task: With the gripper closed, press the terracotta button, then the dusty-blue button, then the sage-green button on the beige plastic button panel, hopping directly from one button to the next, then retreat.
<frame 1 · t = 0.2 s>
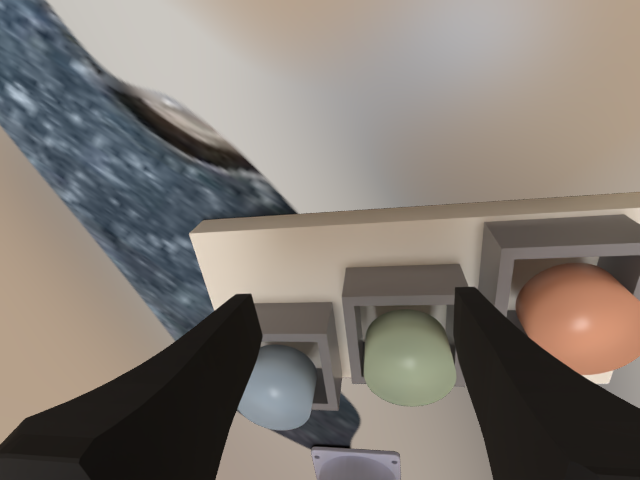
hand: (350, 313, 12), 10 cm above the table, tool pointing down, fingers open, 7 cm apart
panel: (400, 291, 23), on the table
button blue: (277, 387, 21), point 6 cm above the table, slide at 0.0 cm
button terracotta: (578, 318, 16), point 6 cm above the table, slide at 0.0 cm
button green: (407, 357, 18), point 6 cm above the table, slide at 0.0 cm
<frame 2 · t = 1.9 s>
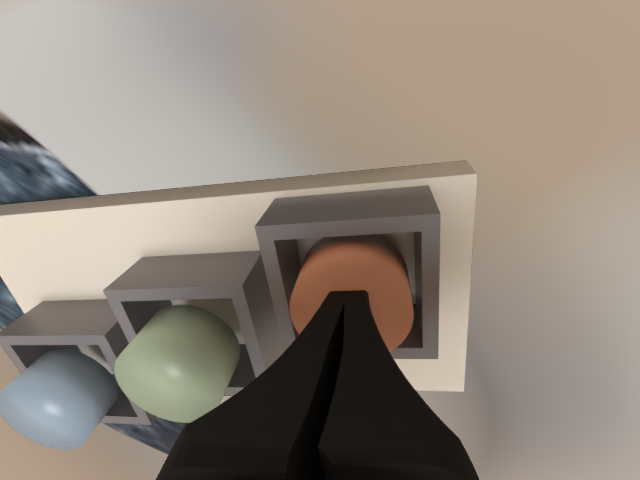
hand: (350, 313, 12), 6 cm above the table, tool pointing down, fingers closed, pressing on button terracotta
panel: (231, 285, 20), on the table
button blue: (61, 398, 18), point 6 cm above the table, slide at 0.0 cm
button terracotta: (352, 294, 13), point 5 cm above the table, slide at 1.1 cm, touching gripper
button green: (181, 363, 15), point 6 cm above the table, slide at 0.0 cm
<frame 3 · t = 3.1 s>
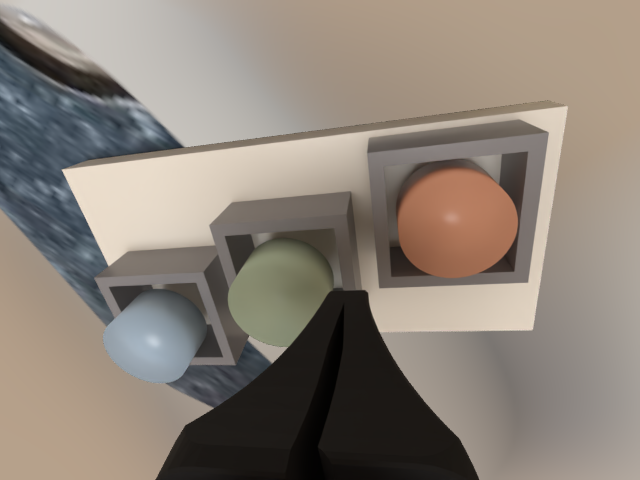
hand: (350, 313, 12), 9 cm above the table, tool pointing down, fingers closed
panel: (306, 234, 21), on the table
button blue: (157, 335, 19), point 6 cm above the table, slide at 0.0 cm
button terracotta: (450, 218, 15), point 5 cm above the table, slide at 1.3 cm
button green: (283, 292, 16), point 6 cm above the table, slide at 0.0 cm
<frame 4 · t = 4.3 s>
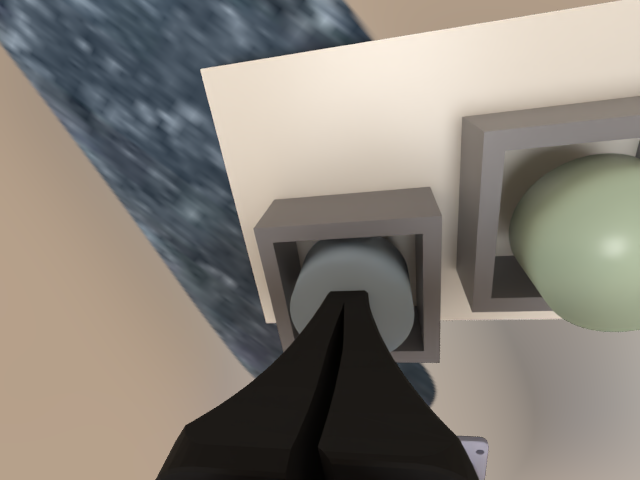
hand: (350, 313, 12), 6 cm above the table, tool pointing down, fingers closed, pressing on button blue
panel: (528, 178, 15), on the table
button blue: (352, 294, 13), point 5 cm above the table, slide at 1.3 cm, touching gripper
button green: (608, 242, 10), point 6 cm above the table, slide at 0.0 cm
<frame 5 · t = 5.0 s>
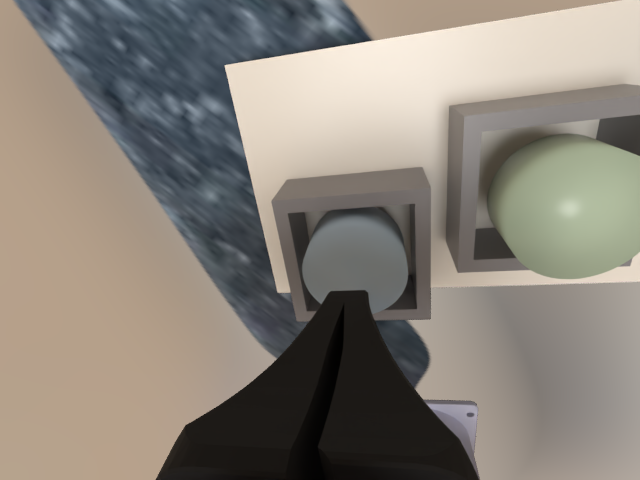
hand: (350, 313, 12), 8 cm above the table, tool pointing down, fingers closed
panel: (508, 160, 17), on the table
button blue: (355, 259, 16), point 5 cm above the table, slide at 1.3 cm
button green: (565, 206, 12), point 6 cm above the table, slide at 0.0 cm
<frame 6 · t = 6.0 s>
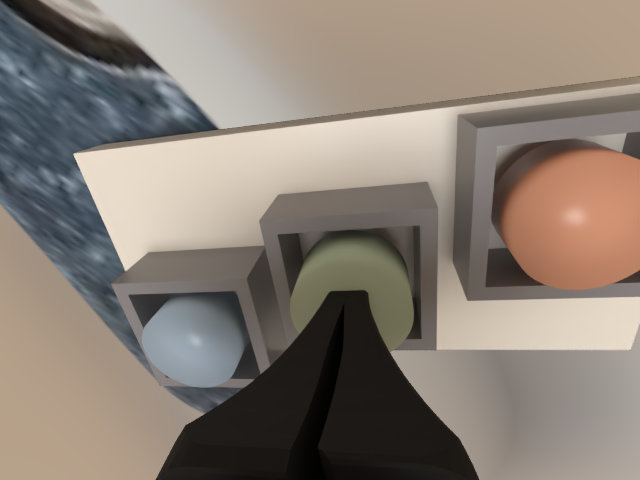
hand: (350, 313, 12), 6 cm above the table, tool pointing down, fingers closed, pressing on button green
panel: (358, 234, 18), on the table
button blue: (200, 333, 17), point 5 cm above the table, slide at 1.3 cm
button terracotta: (571, 214, 12), point 5 cm above the table, slide at 1.3 cm
button green: (352, 294, 14), point 5 cm above the table, slide at 0.6 cm, touching gripper
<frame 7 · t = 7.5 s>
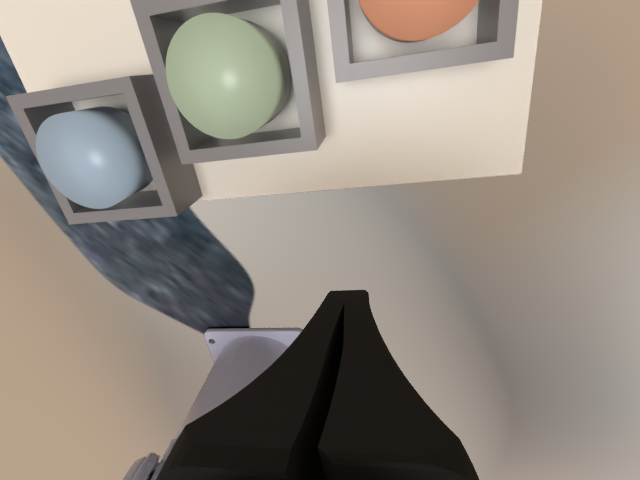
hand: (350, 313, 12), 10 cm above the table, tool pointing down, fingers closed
panel: (263, 74, 18), on the table
button blue: (100, 157, 17), point 5 cm above the table, slide at 1.3 cm
button green: (231, 79, 14), point 5 cm above the table, slide at 1.3 cm
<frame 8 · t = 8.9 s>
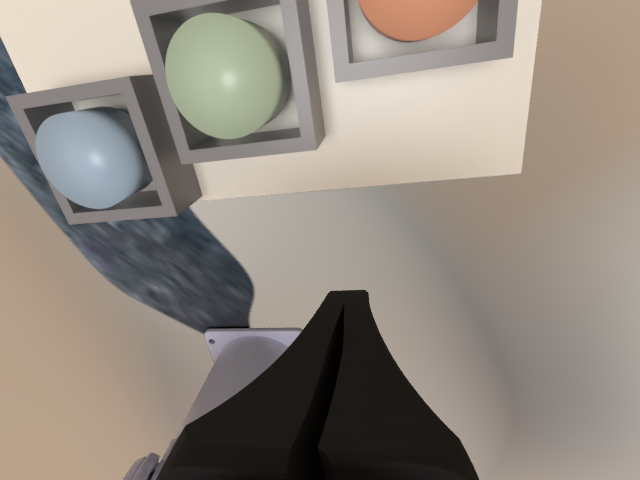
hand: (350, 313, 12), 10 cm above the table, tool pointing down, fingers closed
panel: (262, 74, 18), on the table
button blue: (100, 157, 17), point 5 cm above the table, slide at 1.3 cm
button green: (231, 79, 14), point 5 cm above the table, slide at 1.3 cm
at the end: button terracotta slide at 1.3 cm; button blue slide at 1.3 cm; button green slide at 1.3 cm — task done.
